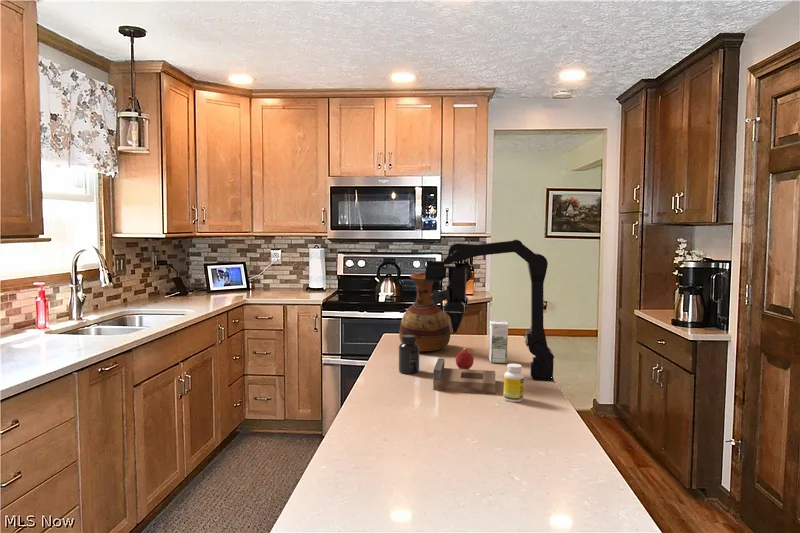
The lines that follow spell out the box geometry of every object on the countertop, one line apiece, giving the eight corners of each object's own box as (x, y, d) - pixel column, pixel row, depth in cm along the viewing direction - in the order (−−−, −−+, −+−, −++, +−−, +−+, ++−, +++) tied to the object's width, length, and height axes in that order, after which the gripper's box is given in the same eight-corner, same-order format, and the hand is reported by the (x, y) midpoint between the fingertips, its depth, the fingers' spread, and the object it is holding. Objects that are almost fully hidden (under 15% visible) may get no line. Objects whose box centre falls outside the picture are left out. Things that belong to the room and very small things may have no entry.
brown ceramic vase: (390, 351, 212) (392, 273, 209) (410, 341, 230) (411, 268, 228) (439, 357, 204) (441, 275, 202) (456, 346, 222) (457, 271, 220)
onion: (467, 375, 181) (468, 350, 180) (452, 372, 184) (452, 348, 184) (476, 371, 185) (476, 347, 185) (461, 368, 189) (461, 345, 188)
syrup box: (504, 359, 202) (505, 320, 200) (507, 363, 196) (508, 323, 194) (488, 359, 202) (489, 319, 200) (490, 363, 196) (491, 322, 195)
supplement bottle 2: (523, 403, 154) (524, 368, 153) (503, 401, 155) (504, 367, 154) (522, 397, 159) (524, 363, 158) (503, 395, 160) (504, 362, 159)
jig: (494, 380, 175) (495, 361, 175) (495, 393, 162) (495, 373, 161) (437, 376, 178) (438, 358, 178) (433, 389, 164) (433, 369, 164)
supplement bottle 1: (419, 369, 187) (420, 334, 186) (418, 374, 180) (419, 338, 179) (399, 368, 187) (400, 333, 186) (397, 374, 181) (397, 337, 180)
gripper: (436, 278, 191) (435, 323, 192) (428, 284, 173) (427, 334, 174) (468, 279, 189) (467, 324, 190) (464, 285, 171) (463, 335, 172)
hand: (456, 329), depth 182 cm, fingers open, 9 cm apart
